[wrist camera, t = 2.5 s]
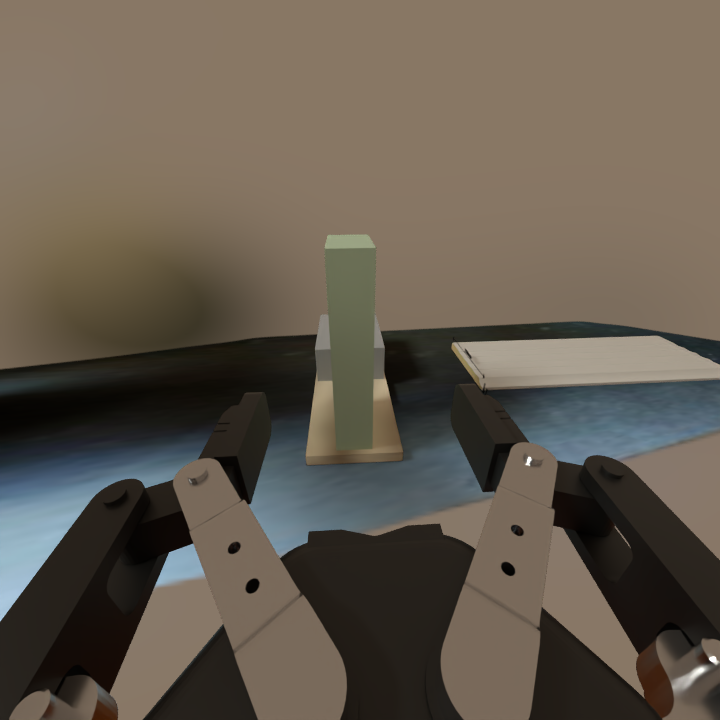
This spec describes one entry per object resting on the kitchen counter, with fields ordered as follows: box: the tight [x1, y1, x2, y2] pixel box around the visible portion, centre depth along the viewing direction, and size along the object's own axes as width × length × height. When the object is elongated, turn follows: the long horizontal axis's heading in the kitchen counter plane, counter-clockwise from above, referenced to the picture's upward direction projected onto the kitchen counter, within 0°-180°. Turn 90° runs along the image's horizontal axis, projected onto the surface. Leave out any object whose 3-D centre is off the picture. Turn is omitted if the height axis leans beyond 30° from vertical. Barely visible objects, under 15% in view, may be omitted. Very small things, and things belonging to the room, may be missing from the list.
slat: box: [324, 235, 376, 451], centre depth 24 cm, size 3×6×16 cm, turn 3°
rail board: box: [306, 373, 403, 465], centre depth 35 cm, size 8×22×1 cm, turn 3°
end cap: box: [315, 314, 385, 381], centre depth 39 cm, size 8×10×4 cm
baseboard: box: [452, 336, 720, 395], centre depth 39 cm, size 31×3×12 cm
